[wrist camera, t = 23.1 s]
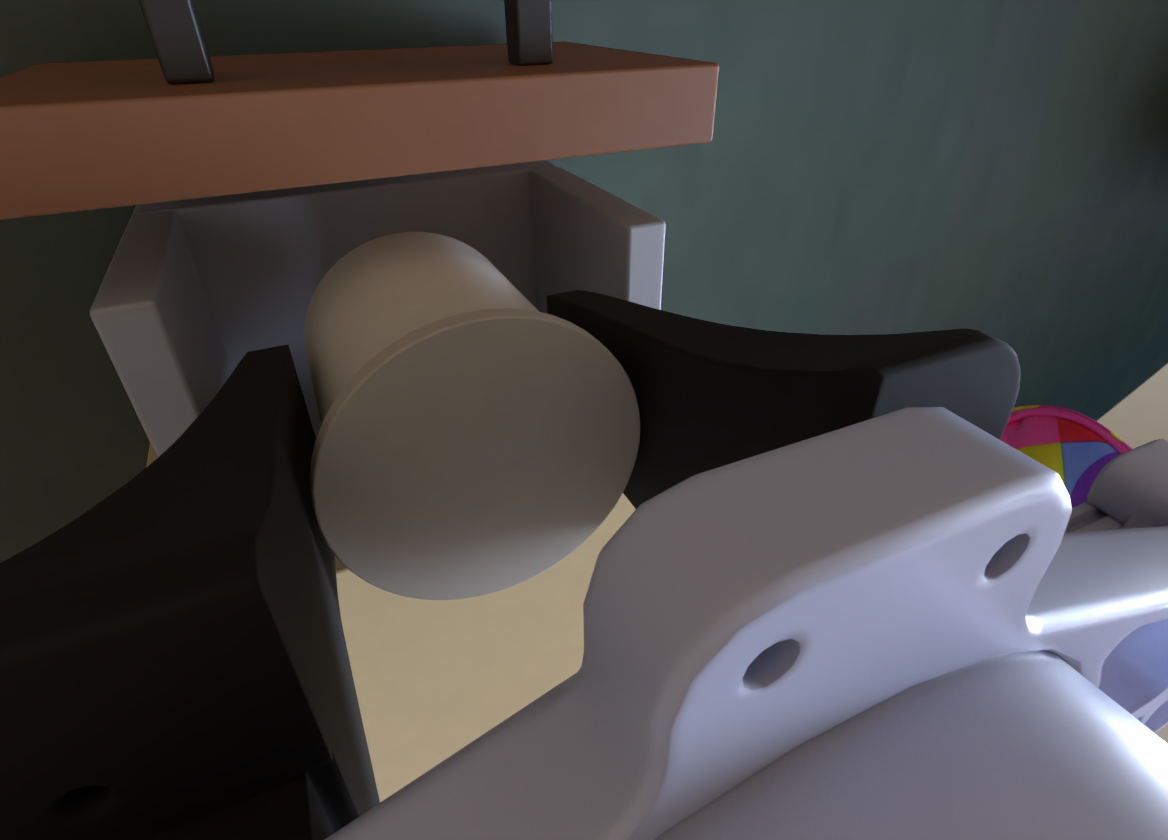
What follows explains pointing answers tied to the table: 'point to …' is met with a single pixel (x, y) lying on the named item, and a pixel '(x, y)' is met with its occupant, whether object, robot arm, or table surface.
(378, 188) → the drawer
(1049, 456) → the pencil case
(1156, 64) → the table surface
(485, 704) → the wooden drawer cabinet
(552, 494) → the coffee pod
